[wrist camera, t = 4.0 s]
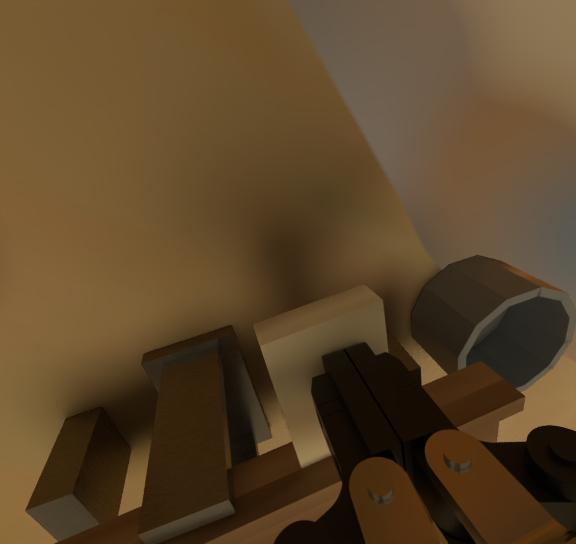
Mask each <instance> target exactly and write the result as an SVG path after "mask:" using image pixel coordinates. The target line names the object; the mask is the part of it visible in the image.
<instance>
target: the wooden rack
mask: <svg viewBox="0 0 576 544" xmlns="http://www.w3.org/2000/svg"><path fill="white" fill-rule="evenodd" d="M386 333H387V342H388V352H389V354H391V355H393V356H394V357H396V358H398V359H400V360H401V361H402V363H403V364H404V365H405V366H406V368H407V369H408V370H409V371H410V373H411V375H413V376H414V377H415V379H416V380H417V381H418V383H419V385H421V386H422V384H421V367H420V366H419V365H418V364H417V363H416V362H415V360H414V359H413V358H412V357H411V356H410V355H409V354H408V352H407V351H406V350H405V349H404V348H403V347H402V346H401V345H400V343H399V342H398V341H397V340H396V339H395V338H394V337H393V335H392V334H391V333H390V332H389V331H388V330H387V329H386ZM141 364H142V366H143V368H144V369H145V371H146V373H147V375H148V376H149V378H150V380H151V382H152V383H153V385H154V387H155V389H156V390H157V392H158V400H157V407H156V414H155V420H154V427H153V434H152V441H151V447H150V454H149V461H148V468H147V475H146V481H145V488H144V495H143V502H142V508H141V515H140V522H139V529H138V536H139V537H140V539H141V540H142V541H143V542H144V543H145V544H158V543H160V542H163V541H165V540H168V539H170V538H173V537H175V536H178V535H181V534H183V533H186V532H188V531H191V530H193V529H196V528H198V527H201V526H203V525H206V524H208V523H211V522H214V521H216V520H219V519H221V518H224V517H226V516H229V515H231V514H234V513H236V508H235V497H234V486H233V475H232V467H234V466H236V465H239V464H241V463H243V462H246V461H248V460H250V459H253V458H255V457H257V456H259V452H258V446H257V443H260V442H263V441H265V440H268V439H271V438H272V435H271V430H270V427H269V424H268V421H267V419H266V416H265V414H264V411H263V408H262V406H261V403H260V400H259V398H258V395H257V392H256V390H255V387H254V384H253V382H252V379H251V376H250V374H249V371H248V369H247V366H246V363H245V361H244V358H243V355H242V353H241V350H240V347H239V345H238V342H237V339H236V337H235V334H234V332H233V329H232V326H228V327H225V328H222V329H219V330H216V331H213V332H210V333H207V334H204V335H201V336H198V337H195V338H192V339H189V340H186V341H183V342H180V343H177V344H174V345H171V346H168V347H164V348H161V349H158V350H155V351H152V352H149V353H146V354H144V355H143V359H142V363H141ZM130 454H131V449H130V447H129V446H128V445H127V443H126V442H125V440H124V439H123V437H122V436H121V435H120V433H119V432H118V430H117V429H116V428H115V426H114V425H113V423H112V422H111V420H110V419H109V418H108V416H107V415H106V413H105V412H104V410H103V409H102V408H101V407H100V408H97V409H94V410H91V411H88V412H85V413H82V414H79V415H76V416H73V417H70V418H67V419H65V421H64V424H63V426H62V428H61V430H60V433H59V435H58V437H57V440H56V442H55V444H54V446H53V449H52V451H51V453H50V455H49V458H48V460H47V462H46V464H45V467H44V469H43V471H42V473H41V476H40V478H39V480H38V483H37V485H36V487H35V489H34V492H33V494H32V496H31V498H30V501H29V503H28V505H27V507H26V510H25V511H26V512H27V513H28V514H29V515H30V516H31V517H32V518H33V519H35V520H36V521H37V522H38V523H39V524H40V525H41V526H42V527H43V528H44V529H45V530H47V531H48V532H49V533H50V534H51V535H52V536H53V537H54V538H55V539H56V540H57V541H58V542H59V541H62V540H64V539H66V538H69V537H71V536H73V535H76V534H78V533H80V532H83V531H85V530H87V529H90V528H92V527H94V526H97V525H99V524H101V523H104V522H106V521H108V520H111V519H113V518H115V517H118V513H119V508H120V503H121V498H122V494H123V489H124V484H125V479H126V474H127V469H128V464H129V459H130Z"/></svg>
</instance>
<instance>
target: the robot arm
mask: <svg viewBox="0 0 576 544" xmlns="http://www.w3.org/2000/svg"><path fill="white" fill-rule="evenodd" d="M321 358H322V362H323V366H324V371H325V373H324V374H321V375H318V376H315V377H312V385H311V395H312V398H313V402H314V406H315V410H316V413H317V417H318V421H319V424H320V427H321V430H322V432H323V435H324V437H325V440H326V443H327V445H328V448H329V451H330V453H331V456H332V458H333V461H334V464H335V466H336V469H337V472H338V474H339V477H340V479H341V482H342V488H341V491H340V494H339V496H338V498H337V500H336V501H335V503H334V504H333V505H332V507H331V508H330V509H329V510H328V511H326V512H325V513H324V514H323V515H322V516H321V517H320V518H319V519H318V520H317V521H316V522H313V521H310V520H300V521H296V522H293V523H291V524H290V525H288V526H287V527H285V528H284V529H283V530H282V531H281V532H280V533H279V535H278V536H277V538H276V540H275V542H274V544H441V543H442V544H576V431H573V430H570V429H567V428H564V427H560V426H551V425H547V426H541V427H537V428H535V429H533V430H532V431H531V432H530V433H529V435H528V437H527V441H526V442H498V443H494V442H484V441H480V440H477V439H476V438H474V437H473V436H471V435H469V434H467V433H465V432H462V431H460V430H459V429H457V428H456V427H455V426H454V425H453V424H452V423H451V421H450V420H449V419H448V418H447V416H446V415H445V414H444V413H443V412H442V410H441V409H440V408H439V407H438V405H437V404H436V403H435V402H434V401H433V399H432V398H431V397H430V396H429V394H428V393H427V392H426V391H425V390H424V388H423V387H422V386H421V385H419V383H418V381H417V380H416V379H415V377H414V376H413V375H411V373H410V371H409V370H408V369H407V368H406V366H405V365H404V364H403V363H402V361H401V360H400V359H398V358H396V357H394V356H393V355H391V354H389V353H387V352H384V353H381V354H378V355H375V354H374V352H373V351H372V350H371V348H370V347H369V346H368V344H367V343H366V342H362V343H359V344H356V345H353V346H350V347H347V348H344V349H342V350H339V351H336V352H333V353H330V354H327V355H324V356H322V357H321ZM419 495H420V497H421V499H422V501H423V502H424V504H425V506H426V508H427V509H428V515H429V517H428V515H427V513H426V511H425V509H424V507H423V505H422V503H421V501H420V499H419V497H418V496H419ZM440 541H441V542H440Z"/></svg>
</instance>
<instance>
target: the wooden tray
mask: <svg viewBox="0 0 576 544" xmlns="http://www.w3.org/2000/svg"><path fill="white" fill-rule="evenodd" d="M252 325H253V328H254V331H255V334H256V337H257V340H258V343H259V345H260V348H261V351H262V354H263V357H264V360H265V363H266V366H267V369H268V372H269V375H270V378H271V381H272V384H273V387H274V389H275V392H276V395H277V398H278V401H279V404H280V407H281V410H282V413H283V416H284V419H285V422H286V425H287V428H288V431H289V434H290V436H291V439H292V442H290V443H288V444H285V445H283V446H281V447H278V448H276V449H274V450H271V451H269V452H267V453H264V454H262V455H260V456H257V457H255V458H253V459H250V460H248V461H246V462H243V463H241V464H239V465H236V466H234V467H232V475H233V486H234V497H235V508H236V513H234V514H231V515H229V516H226V517H224V518H221V519H219V520H216V521H214V522H211V523H208V524H206V525H203V526H201V527H198V528H196V529H193V530H191V531H188V532H186V533H183V534H181V535H178V536H175V537H173V538H170V539H168V540H165V541H163V542H160V543H158V544H274V542H275V540H276V538H277V536H278V535H279V533H280V532H281V531H282V530H283V529H284V528H285V527H287V526H288V525H290V524H291V523H293V522H296V521H300V520H310V521H313V522H316V521H317V520H318V519H319V518H320V517H321V516H322V515H323V514H324V513H325V512H326V511H328V510H329V509H330V508H331V507H332V505H333V504H334V503H335V501H336V500H337V498H338V496H339V494H340V491H341V488H342V482H341V479H340V477H339V474H338V472H337V469H336V466H335V464H334V461H333V458H332V456H331V453H330V451H329V448H328V445H327V443H326V440H325V437H324V435H323V432H322V430H321V427H320V424H319V421H318V417H317V413H316V410H315V406H314V402H313V398H312V395H311V385H312V377H315V376H318V375H321V374H324V373H325V371H324V366H323V362H322V358H321V357H322V356H324V355H327V354H330V353H333V352H336V351H339V350H342V349H344V348H347V347H350V346H353V345H356V344H359V343H362V342H366V343H367V344H368V346H369V347H370V348H371V350H372V351H373V352H374V354H375V355H378V354H381V353H384V352H387V353H389V352H388V342H387V333H386V324H385V315H384V306H383V300H382V299H381V298H380V297H379V296H378V295H377V294H375V293H374V292H373V291H372V290H371V289H370V288H369V287H368V286H366V285H365V284H361V285H359V286H356V287H353V288H350V289H348V290H345V291H342V292H339V293H337V294H334V295H331V296H328V297H326V298H323V299H320V300H317V301H315V302H312V303H309V304H306V305H304V306H301V307H298V308H295V309H293V310H290V311H287V312H284V313H282V314H279V315H276V316H273V317H271V318H268V319H265V320H262V321H260V322H257V323H254V324H252ZM422 387H423V388H424V390H425V391H426V392H427V393H428V394H429V396H430V397H431V398H432V399H433V401H434V402H435V403H436V404H437V405H438V407H439V408H440V409H441V410H442V412H443V413H444V414H445V415H446V416H447V418H448V419H449V420H450V421H451V423H452V424H453V425H454V426H455V427H456V428H457V429H459V430H460V431H462V432H465V433H467V434H469V435H471V436H473V437H474V438H476V439H477V440H480V441H484V442H494V443H497V436H498V427H499V421H501V420H503V419H505V418H507V417H510V416H512V415H514V414H516V413H518V412H520V411H522V410H523V408H524V402H525V396H524V395H523V394H522V393H521V392H519V391H518V390H517V389H516V388H514V387H513V386H512V385H511V384H509V383H508V382H507V381H506V380H504V379H503V378H502V377H501V376H499V375H498V374H497V373H496V372H494V371H493V370H492V369H491V368H489V367H488V366H487V365H486V364H484V363H483V362H482V361H479V362H477V363H474V364H472V365H470V366H467V367H465V368H463V369H460V370H458V371H456V372H453V373H451V374H449V375H446V376H444V377H442V378H439V379H437V380H435V381H432V382H430V383H428V384H425V385H423V386H422ZM418 497H419V499H420V501H421V503H422V505H423V507H424V509H425V511H426V513H427V515H428V509H427V508H426V506H425V504H424V502H423V501H422V499H421V497H420V495H419V496H418ZM141 508H142V506H141V507H139V508H136V509H134V510H132V511H129V512H127V513H125V514H122V515H120V516H118V517H115V518H113V519H111V520H108V521H106V522H104V523H101V524H99V525H97V526H94V527H92V528H90V529H87V530H85V531H83V532H80V533H78V534H76V535H73V536H71V537H69V538H66V539H64V540H62V541H59V542H57V543H55V544H145V543H144V542H143V541H142V540H141V539H140V537H139V536H138V529H139V522H140V515H141ZM428 517H429V515H428Z"/></svg>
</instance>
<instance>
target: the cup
mask: <svg viewBox="0 0 576 544" xmlns="http://www.w3.org/2000/svg"><path fill="white" fill-rule="evenodd" d="M411 321H412V336H413V338H414V340H415V341H416V342H417V343H418V344H419V345H420V346H421V347H422V348H423V349H424V350H425V351H426V352H427V353H428V354H429V355H430V356H431V357H432V358H433V359H434V360H435V361H436V362H437V363H438V365H439V366H440V367H441V368H442V369H443V370H444V371H445V372H446V373H447V374H448V375H449V374H451V373H453V372H456V371H458V370H460V369H463V368H465V367H467V366H470V365H472V364H474V363H477V362H479V361H482V362H483V363H484V364H486V365H487V366H488V367H489V368H491V369H492V370H493V371H494V372H496V373H497V374H498V375H499V376H501V377H502V378H503V379H504V380H506V381H507V382H508V383H509V384H511V385H512V386H513V387H514V388H516V389H517V390H518V391H519V392H522V391H524V390H526V389H528V388H529V387H530V386H531V385H533V384H534V383H535V382H536V381H538V380H539V379H540V378H541V377H543V376H544V375H545V374H546V373H548V372H549V371H550V370H551V369H553V367H554V366H555V365H556V363H557V362H558V360H559V359H560V357H561V356H562V354H563V353H564V352H565V350H566V349H567V347H568V345H569V344H570V343H571V341H572V338H573V333H574V329H575V324H576V309H575V307H574V305H573V303H572V301H571V299H570V297H569V295H568V293H566V292H564V291H562V290H560V289H558V288H556V287H554V286H552V285H550V284H548V283H546V282H543V281H541V280H539V279H537V278H535V277H533V276H531V275H529V274H527V273H525V272H523V271H521V270H519V269H516V268H514V267H512V266H510V265H508V264H506V263H504V262H502V261H499V260H495V259H491V258H487V257H484V256H479V255H476V256H473V257H470V258H467V259H464V260H461V261H458V262H455V263H452V264H449V265H448V266H446V267H445V268H444V269H443V270H442V271H441V272H440V273H439V274H438V275H436V276H435V277H434V278H433V279H432V280H431V281H430V282H429V283H427V284H426V285H425V286H424V288H423V290H422V292H421V294H420V296H419V298H418V300H417V302H416V304H415V307H414V309H413V311H412V313H411Z"/></svg>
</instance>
